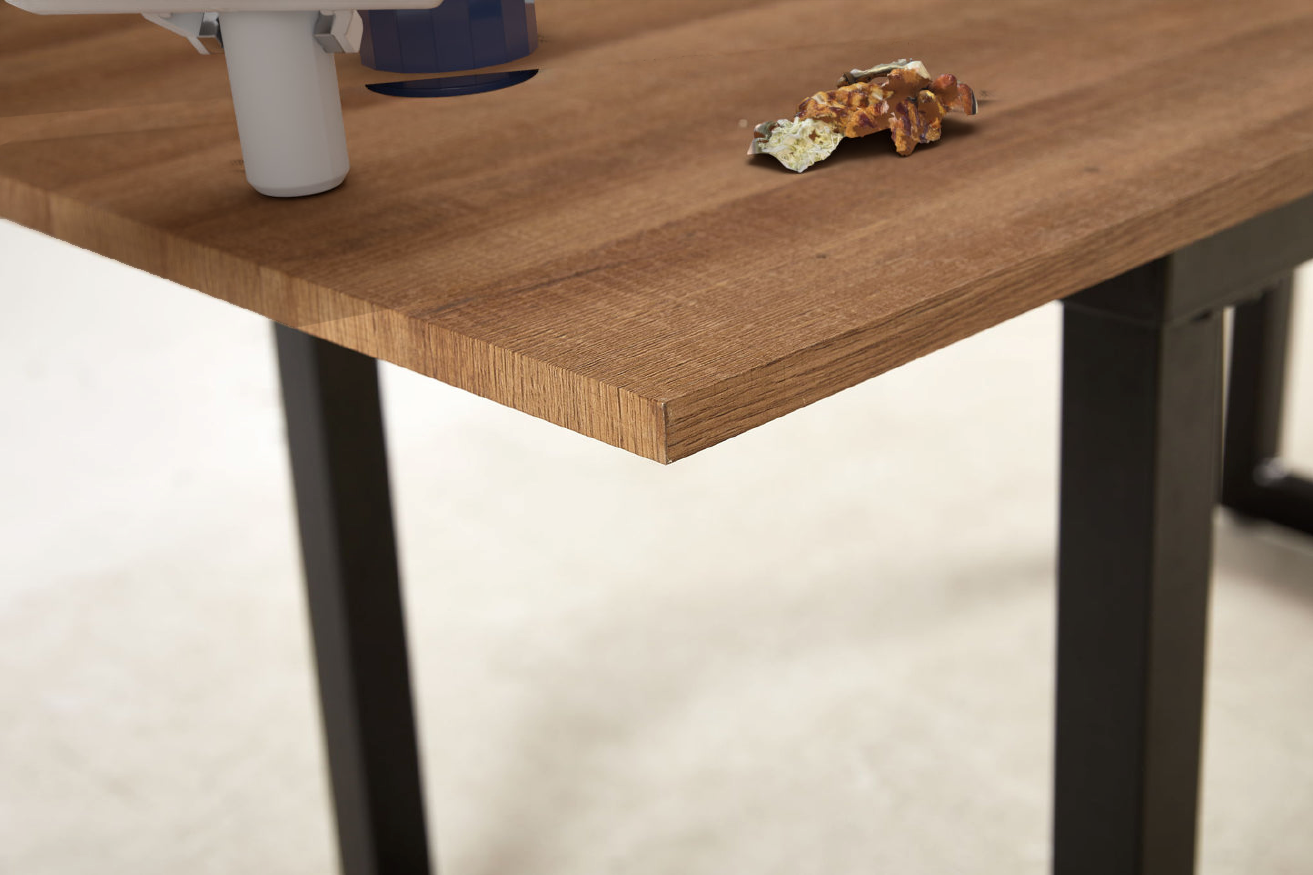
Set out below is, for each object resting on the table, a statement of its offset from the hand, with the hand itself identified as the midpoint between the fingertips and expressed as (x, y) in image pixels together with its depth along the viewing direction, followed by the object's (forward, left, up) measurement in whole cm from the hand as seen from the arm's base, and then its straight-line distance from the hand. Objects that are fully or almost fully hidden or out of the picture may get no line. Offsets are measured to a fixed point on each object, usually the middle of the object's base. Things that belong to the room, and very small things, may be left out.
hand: (282, 41), depth 71 cm
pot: (+8, +20, -7) cm, 22 cm away
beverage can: (0, -1, -7) cm, 7 cm away
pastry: (+27, -2, -7) cm, 28 cm away
